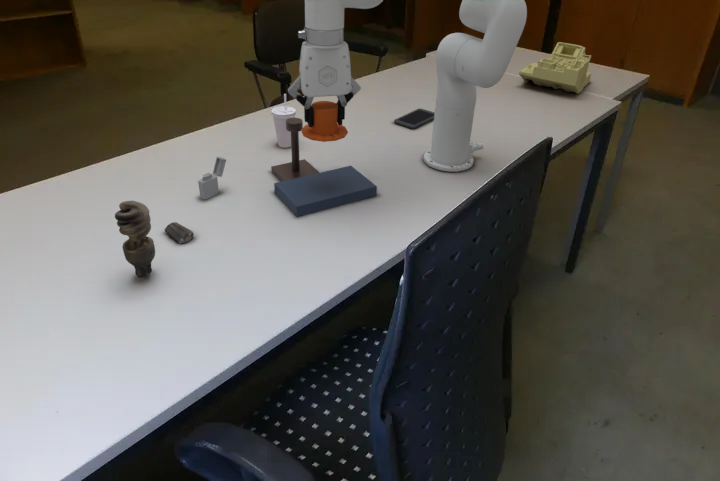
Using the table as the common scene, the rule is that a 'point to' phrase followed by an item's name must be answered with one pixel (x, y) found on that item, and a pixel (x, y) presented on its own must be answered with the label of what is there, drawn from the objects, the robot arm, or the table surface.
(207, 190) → the lighter
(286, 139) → the smoothie
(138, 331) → the table surface
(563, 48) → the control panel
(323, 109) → the hat
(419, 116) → the cell phone
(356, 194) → the low stand
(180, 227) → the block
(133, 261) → the light bulb
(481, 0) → the robot arm
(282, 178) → the hat stand
